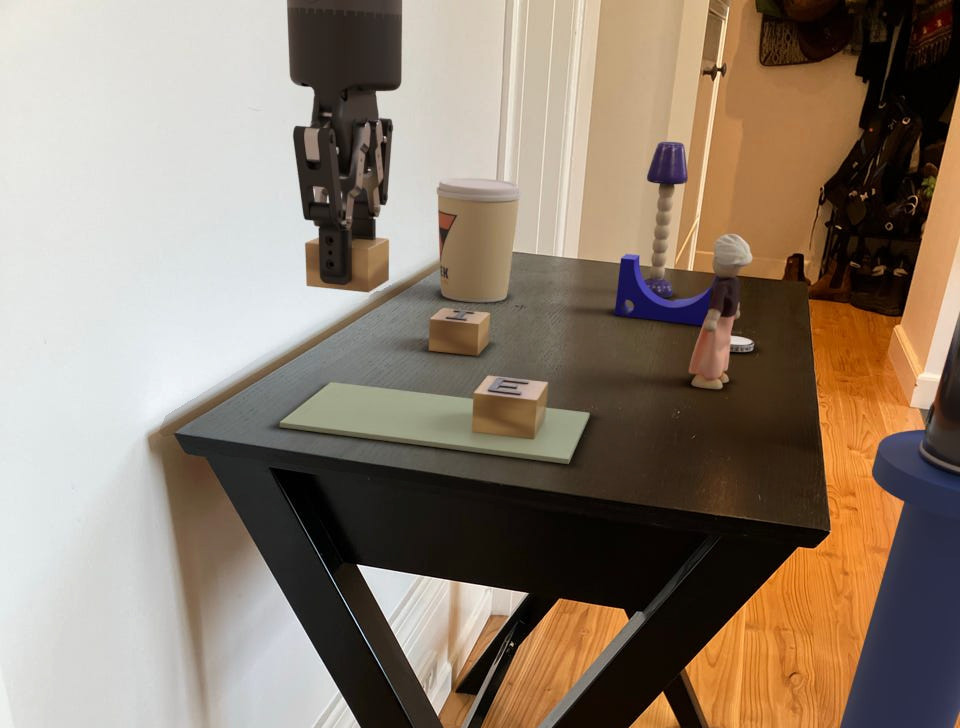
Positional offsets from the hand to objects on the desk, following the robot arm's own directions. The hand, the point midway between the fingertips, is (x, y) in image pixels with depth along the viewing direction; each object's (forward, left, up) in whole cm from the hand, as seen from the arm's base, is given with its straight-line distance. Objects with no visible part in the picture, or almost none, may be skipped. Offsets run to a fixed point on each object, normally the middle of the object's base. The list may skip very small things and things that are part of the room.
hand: (348, 275), depth 75 cm
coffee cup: (+1, -45, -10) cm, 46 cm away
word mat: (-7, 0, -10) cm, 13 cm away
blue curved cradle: (-22, -44, -10) cm, 50 cm away
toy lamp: (-19, -55, -10) cm, 59 cm away
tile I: (-3, -22, -10) cm, 24 cm away
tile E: (-13, 0, -10) cm, 16 cm away
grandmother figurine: (-27, -19, -10) cm, 35 cm away
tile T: (0, 0, -1) cm, 1 cm away
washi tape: (-29, -33, -10) cm, 45 cm away
